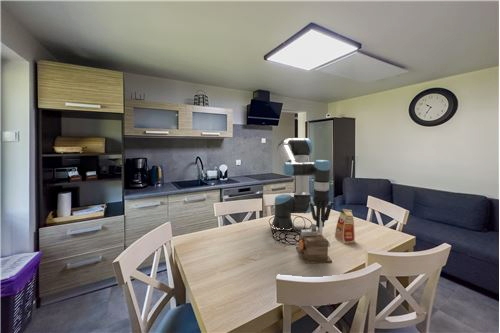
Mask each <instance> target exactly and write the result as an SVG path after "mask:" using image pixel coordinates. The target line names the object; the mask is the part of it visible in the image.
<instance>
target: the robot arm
mask: <svg viewBox="0 0 500 333" xmlns="http://www.w3.org/2000/svg"><path fill="white" fill-rule="evenodd" d="M277 152H278V155H280V156H281V159H282V162H283V165H282V173H283V175H284V176H287V177H288V176H289V177H295V193H293V196H292V195H291V194H285V193H284V194H279V195H276V196H275V198H274V202H273V203H274V217H273V221H272V223H271V226H272V225H274V226H275V227H277V228H280V229H283V228H284V229H290V228H293V229H294V222H293V219H292V214H310V213H311V216H312V220H314V222H315V225H316V228H317V230H318V233H319V234H322V235H323V228H325V223H326V221H328V220H329V217H330V214H331V210H332V207H333V206H334V203H333V202H332V201H330V199H329V198H330V176H331V172H330V171H331V162H330V160H327V159H316V160H315V161H311V162H310V161H309V162H308V159H309V157H310V155H311V154H312V153H313V145H312V141H311V140H310V138H308V137H287V138H284V139H282V140H281V141H280V142H279V143H278V145H277ZM312 176H313V177H314V178H313V179H314V181H313V189H314V190H313V196H311V193H309V179H308V178H309V177H312Z"/></svg>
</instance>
